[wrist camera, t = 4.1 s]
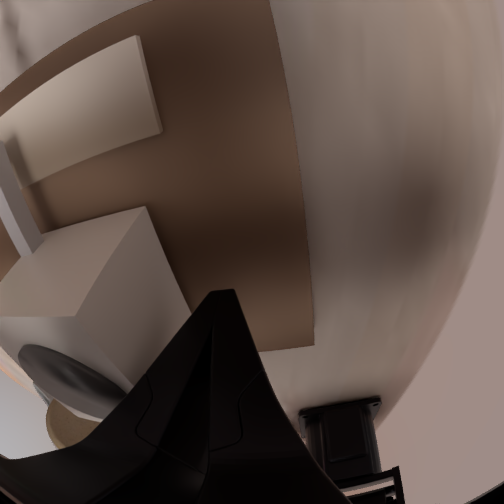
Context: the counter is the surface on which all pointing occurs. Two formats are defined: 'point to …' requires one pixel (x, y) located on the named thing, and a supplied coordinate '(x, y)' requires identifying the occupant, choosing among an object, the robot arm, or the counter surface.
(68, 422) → the ceramic mug
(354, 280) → the counter surface
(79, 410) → the gauge
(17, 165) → the test rig
